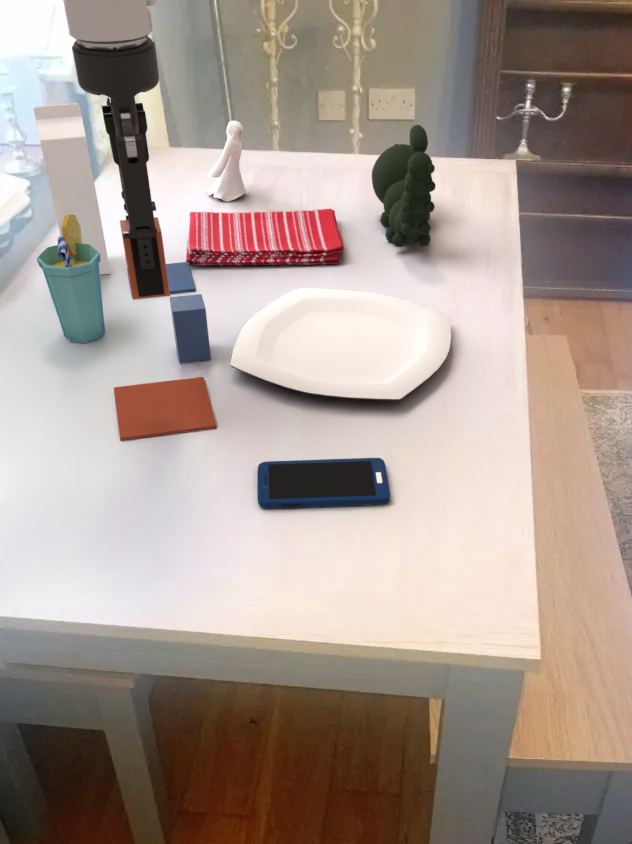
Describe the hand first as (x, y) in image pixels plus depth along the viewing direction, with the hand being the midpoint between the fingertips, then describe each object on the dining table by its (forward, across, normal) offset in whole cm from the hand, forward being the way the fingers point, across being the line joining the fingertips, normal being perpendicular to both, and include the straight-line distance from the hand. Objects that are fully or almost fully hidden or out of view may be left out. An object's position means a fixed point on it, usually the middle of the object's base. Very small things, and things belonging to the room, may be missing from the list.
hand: (149, 283), depth 98 cm
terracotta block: (+1, 0, 0) cm, 1 cm away
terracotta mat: (+14, -2, 0) cm, 15 cm away
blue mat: (+14, +32, -3) cm, 35 cm away
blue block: (+14, +10, -4) cm, 18 cm away
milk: (+14, +38, +7) cm, 42 cm away
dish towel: (+14, +41, -20) cm, 47 cm away
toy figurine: (+15, +40, -42) cm, 60 cm away
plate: (+15, +6, -24) cm, 28 cm away
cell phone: (+14, -21, -14) cm, 30 cm away
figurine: (+15, +62, -17) cm, 65 cm away
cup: (+15, +17, +9) cm, 24 cm away
